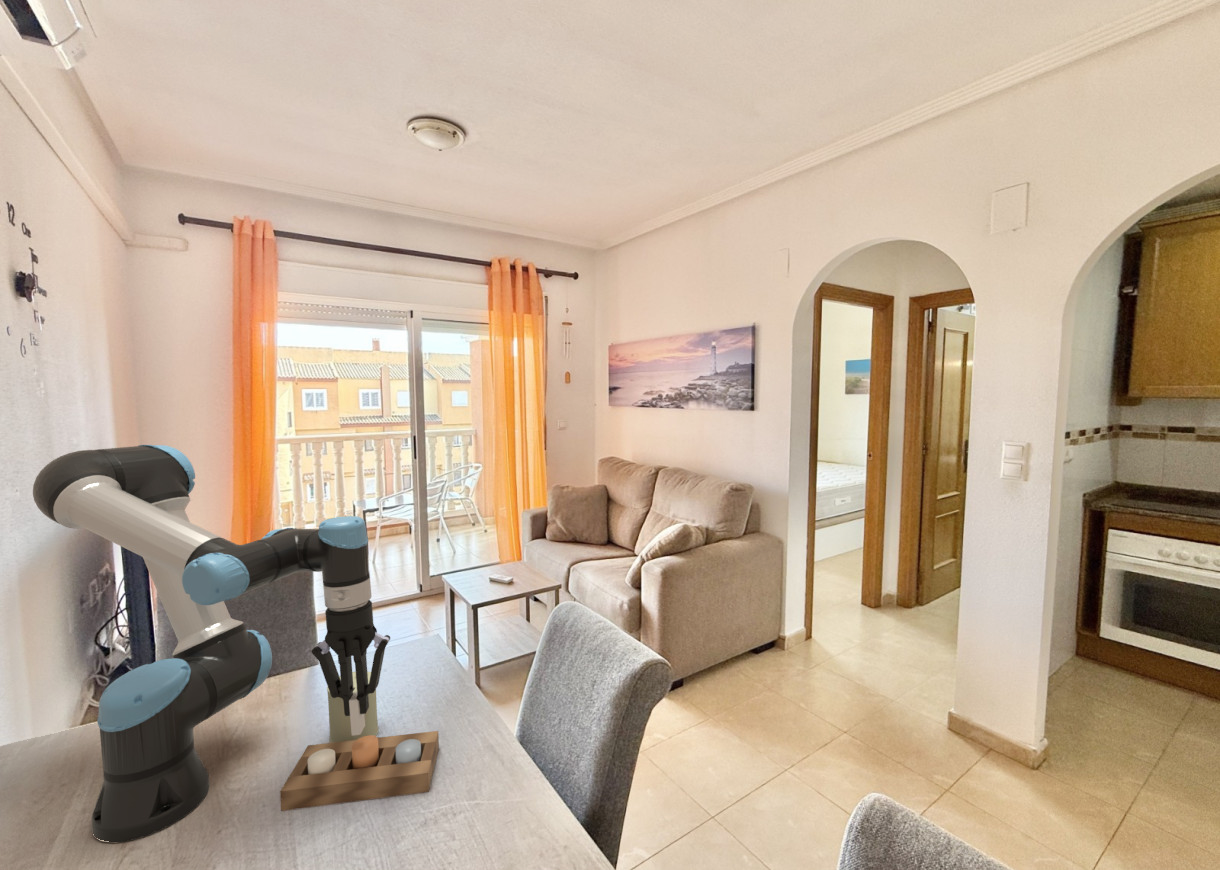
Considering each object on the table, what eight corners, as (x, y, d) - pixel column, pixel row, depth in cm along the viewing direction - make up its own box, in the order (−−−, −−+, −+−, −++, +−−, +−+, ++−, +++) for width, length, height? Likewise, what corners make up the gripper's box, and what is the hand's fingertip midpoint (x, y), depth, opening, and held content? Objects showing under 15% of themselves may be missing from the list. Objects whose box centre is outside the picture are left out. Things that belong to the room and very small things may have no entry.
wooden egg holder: (281, 810, 89) (280, 791, 89) (308, 762, 101) (307, 745, 100) (428, 791, 93) (428, 772, 93) (438, 747, 105) (438, 730, 105)
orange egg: (349, 776, 94) (348, 752, 94) (356, 760, 98) (355, 736, 98) (375, 773, 95) (374, 749, 95) (381, 757, 99) (380, 734, 99)
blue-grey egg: (393, 780, 96) (393, 756, 95) (399, 763, 100) (398, 740, 100) (419, 777, 96) (418, 753, 96) (423, 760, 101) (422, 737, 100)
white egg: (304, 791, 93) (303, 766, 93) (314, 774, 97) (313, 750, 97) (331, 788, 94) (330, 763, 93) (339, 770, 98) (338, 747, 98)
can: (387, 723, 113) (384, 669, 112) (362, 751, 104) (360, 693, 103) (346, 720, 114) (344, 667, 113) (319, 749, 105) (316, 691, 104)
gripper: (300, 615, 89) (311, 748, 91) (381, 608, 91) (390, 738, 93) (318, 599, 97) (328, 723, 98) (392, 593, 99) (400, 713, 100)
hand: (358, 730), depth 95 cm, fingers closed
